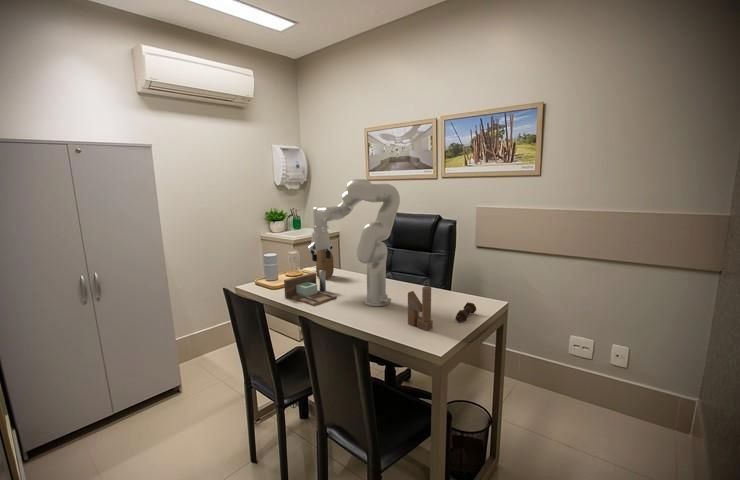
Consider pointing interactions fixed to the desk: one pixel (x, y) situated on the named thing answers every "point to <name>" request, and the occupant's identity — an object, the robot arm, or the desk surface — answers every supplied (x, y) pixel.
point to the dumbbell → (465, 312)
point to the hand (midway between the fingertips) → (321, 259)
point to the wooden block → (420, 309)
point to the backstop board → (311, 300)
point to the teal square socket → (307, 289)
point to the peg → (322, 280)
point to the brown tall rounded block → (324, 263)
